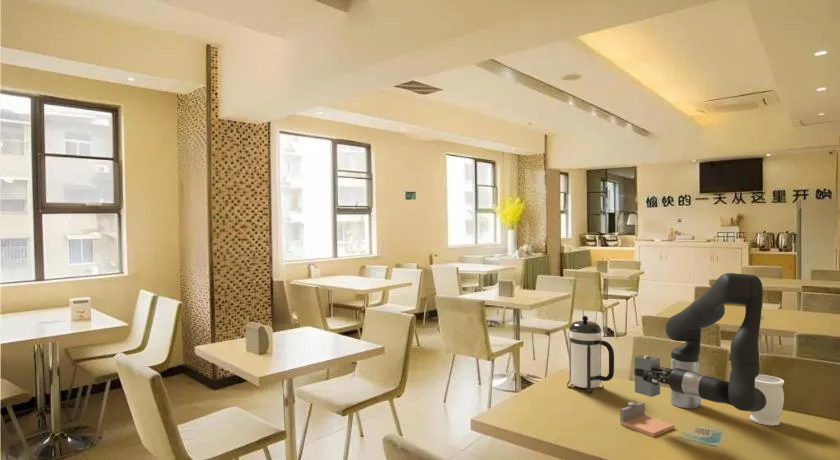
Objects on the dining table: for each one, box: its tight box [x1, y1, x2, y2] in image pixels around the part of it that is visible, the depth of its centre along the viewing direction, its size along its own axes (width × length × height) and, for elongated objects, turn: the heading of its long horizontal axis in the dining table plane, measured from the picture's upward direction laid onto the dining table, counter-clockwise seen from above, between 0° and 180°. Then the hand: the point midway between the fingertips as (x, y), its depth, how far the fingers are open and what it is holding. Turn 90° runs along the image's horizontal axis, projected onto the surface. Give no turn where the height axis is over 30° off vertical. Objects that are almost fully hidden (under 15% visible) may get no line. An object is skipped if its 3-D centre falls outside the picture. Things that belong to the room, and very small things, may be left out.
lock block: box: [634, 354, 661, 398], centre depth 168 cm, size 5×6×13 cm
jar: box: [749, 373, 785, 427], centre depth 172 cm, size 11×10×15 cm
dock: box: [619, 401, 675, 438], centre depth 168 cm, size 12×13×6 cm
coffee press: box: [566, 315, 615, 394], centre depth 206 cm, size 17×16×30 cm
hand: (640, 370), depth 170 cm, fingers closed on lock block, 5 cm apart
